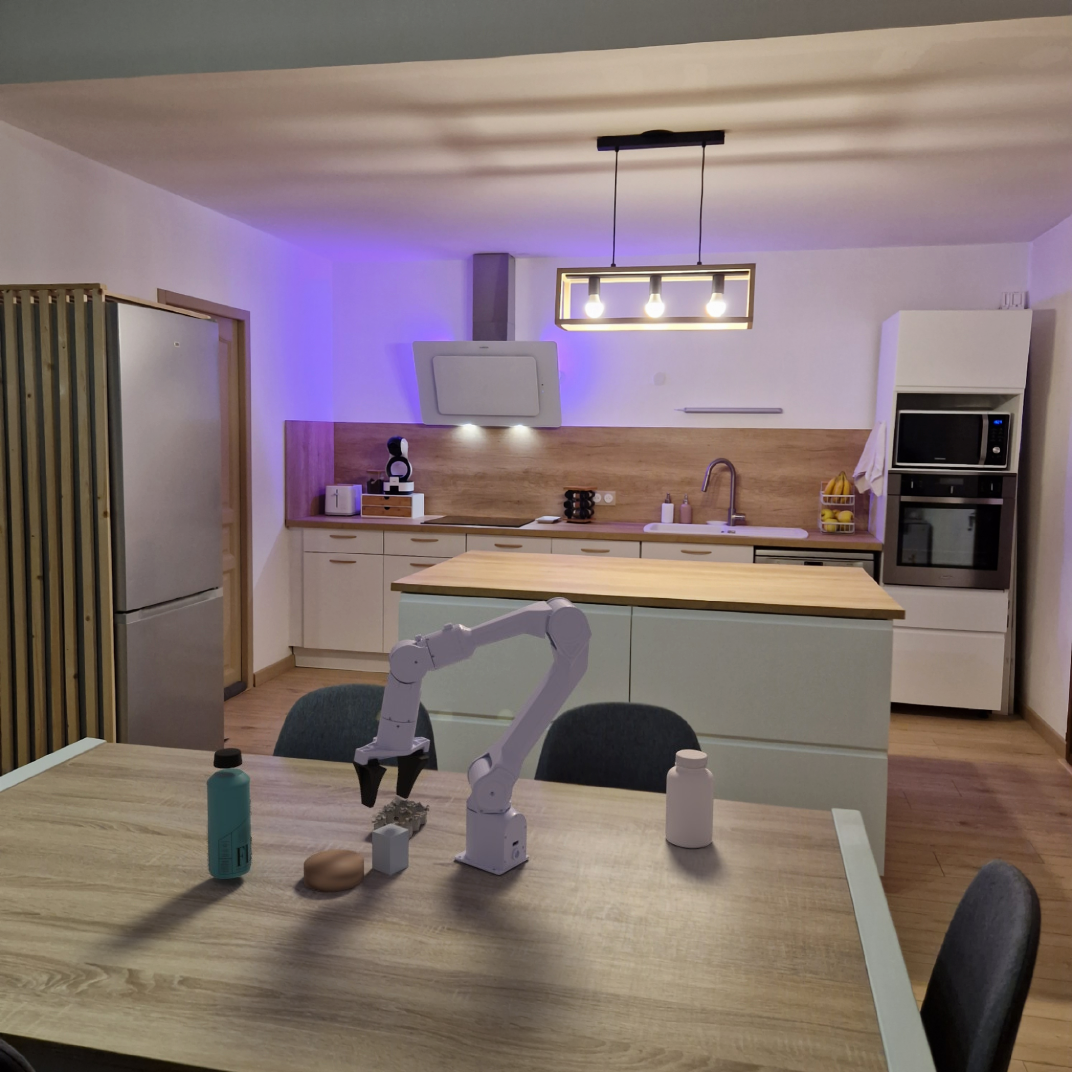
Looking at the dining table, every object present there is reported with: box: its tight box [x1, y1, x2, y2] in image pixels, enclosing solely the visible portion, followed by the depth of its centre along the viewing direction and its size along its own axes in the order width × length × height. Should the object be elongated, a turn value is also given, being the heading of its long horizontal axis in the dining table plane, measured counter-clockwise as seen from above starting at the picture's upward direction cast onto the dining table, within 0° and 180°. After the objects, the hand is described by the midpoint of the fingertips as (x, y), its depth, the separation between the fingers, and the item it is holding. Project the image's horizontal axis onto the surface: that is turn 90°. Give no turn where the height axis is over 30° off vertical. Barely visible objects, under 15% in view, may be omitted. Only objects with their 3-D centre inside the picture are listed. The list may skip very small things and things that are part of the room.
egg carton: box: [370, 796, 431, 840], centre depth 161 cm, size 11×8×4 cm
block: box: [371, 823, 410, 876], centre depth 146 cm, size 4×4×6 cm
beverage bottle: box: [206, 747, 253, 880], centre depth 140 cm, size 6×7×20 cm
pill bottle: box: [664, 749, 715, 849], centre depth 158 cm, size 8×8×15 cm
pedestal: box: [303, 849, 365, 893], centre depth 142 cm, size 9×9×2 cm
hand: (385, 801), depth 146 cm, fingers open, 7 cm apart
